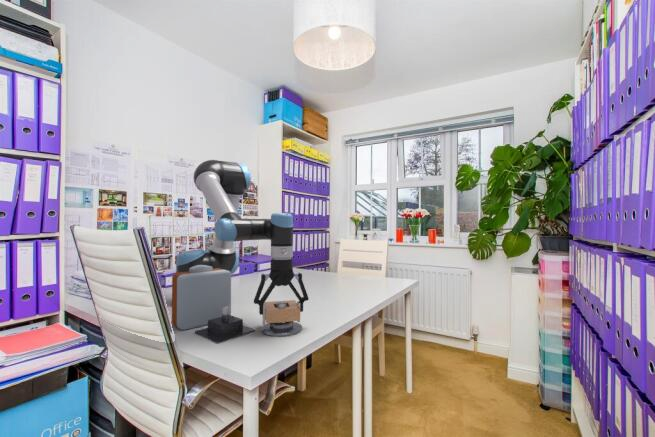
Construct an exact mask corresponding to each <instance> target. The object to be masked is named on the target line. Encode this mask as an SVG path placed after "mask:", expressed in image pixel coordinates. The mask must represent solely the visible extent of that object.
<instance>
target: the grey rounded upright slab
mask: <svg viewBox="0 0 655 437" xmlns="http://www.w3.org/2000/svg"><path fill="white" fill-rule="evenodd" d="M224 305H229V315H231V316H232V274H231V273H230V271H228V270H224V269H220V268H216V269H212V267H211V266H207V265H196V266H193V267H191V268H189V272H179V273H176V272H175V273H173V275H172V277H171V323H172V324H173V325H174V327H176V328H178V329H179V330H181V331H186V330H187V331H188V330H191V329H195V328H200V327H204V326H208V320H211V319H215V318H219V317H222V306H224Z"/></svg>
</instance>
